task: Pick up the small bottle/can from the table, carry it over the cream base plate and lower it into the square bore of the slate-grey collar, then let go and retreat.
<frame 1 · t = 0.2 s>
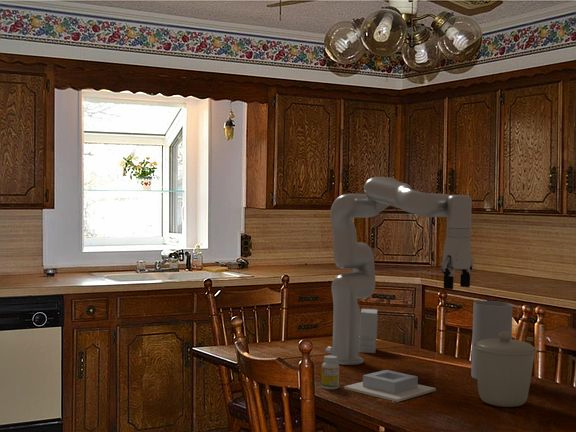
hand: (456, 287, 250), 31 cm above the table, tool pointing down, fingers open, 9 cm apart
socket holder: (389, 389, 243), on the table
cylinder vase: (490, 379, 261), on the table
skincare box: (367, 351, 303), on the table
canister: (502, 403, 231), on the table
supplement bottle: (329, 388, 244), on the table
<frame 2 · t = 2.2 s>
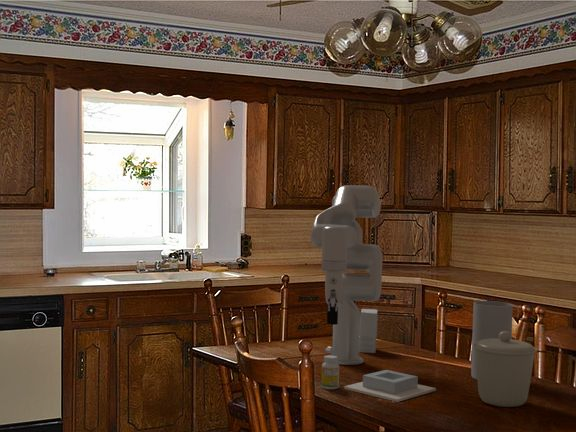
hand: (332, 321, 243), 20 cm above the table, tool pointing down, fingers open, 9 cm apart
nothing on the table moved.
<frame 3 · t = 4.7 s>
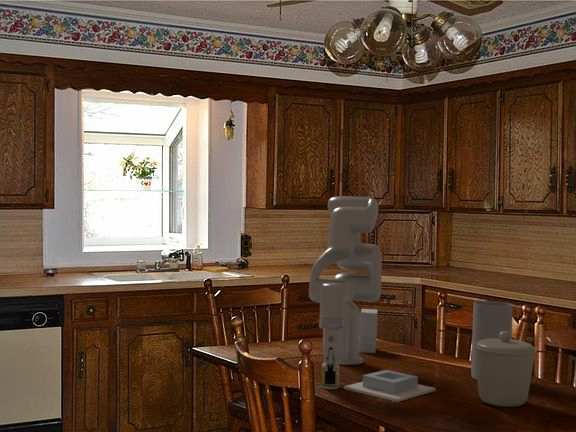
hand: (330, 380, 244), 2 cm above the table, tool pointing down, fingers closed on supplement bottle, 5 cm apart
supplement bottle: (329, 388, 244), on the table, touching gripper
everything else where it was.
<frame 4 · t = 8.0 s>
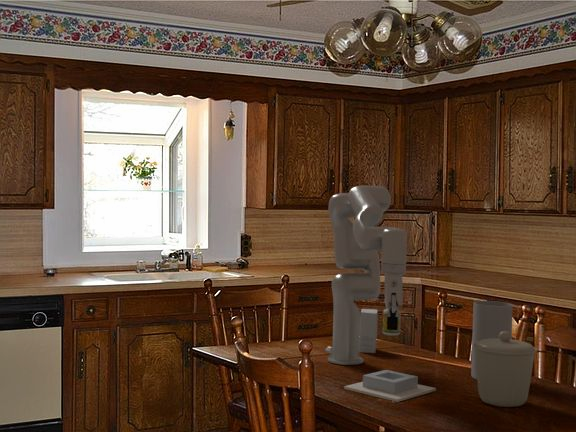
hand: (391, 327, 242), 19 cm above the table, tool pointing down, fingers closed on supplement bottle, 5 cm apart
supplement bottle: (391, 334, 243), point 17 cm above the table, touching gripper
everything else where it was.
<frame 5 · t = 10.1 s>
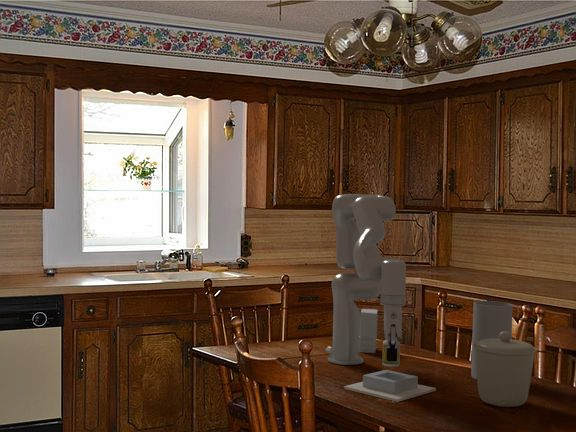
hand: (390, 358, 243), 10 cm above the table, tool pointing down, fingers closed on supplement bottle, 5 cm apart
supplement bottle: (390, 365, 243), point 7 cm above the table, touching gripper
everything else where it was.
when the fingers open (6 cm above the table, at t = 11.6 s): supplement bottle drops 3 cm, resting on socket holder.
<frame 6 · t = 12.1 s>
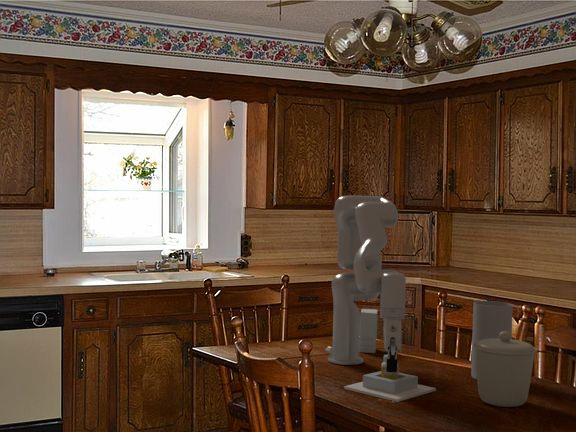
hand: (390, 368, 243), 7 cm above the table, tool pointing down, fingers open, 9 cm apart
supplement bottle: (389, 387, 243), point 1 cm above the table, touching socket holder
everything else where it was.
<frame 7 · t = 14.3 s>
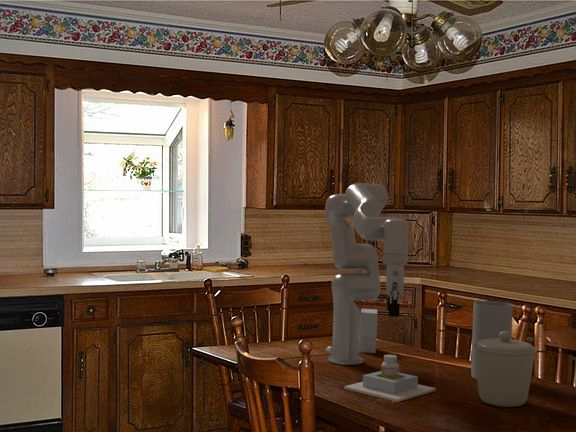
hand: (392, 313, 246), 23 cm above the table, tool pointing down, fingers open, 9 cm apart
nothing on the table moved.
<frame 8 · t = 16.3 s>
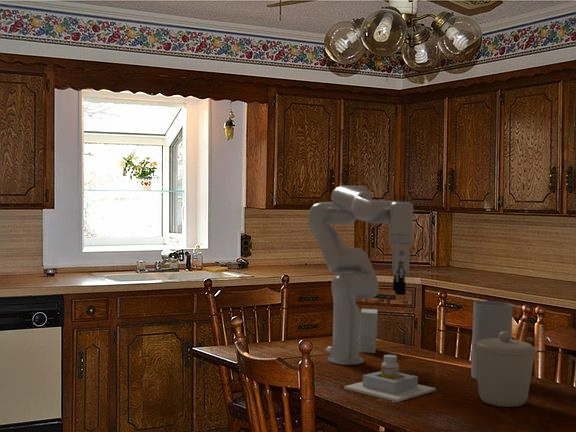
hand: (399, 292, 256), 28 cm above the table, tool pointing down, fingers open, 9 cm apart
nothing on the table moved.
at the end: supplement bottle 0.2 cm off-centre on the socket holder, point 0.6 cm above the socket holder's base; supplement bottle tilted 0°; the gripper is holding nothing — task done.
